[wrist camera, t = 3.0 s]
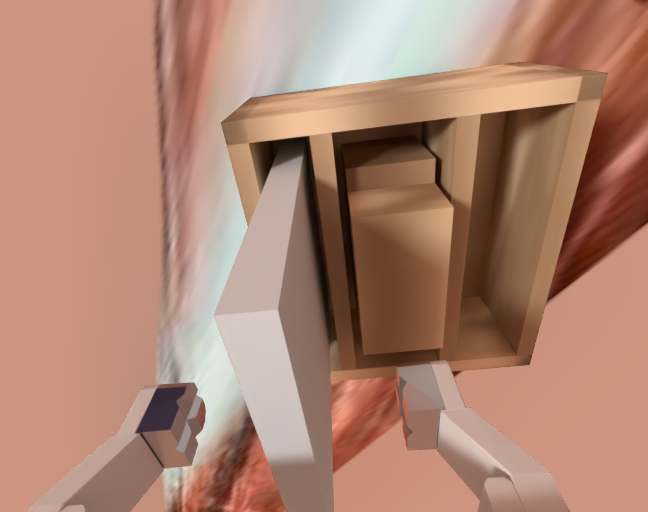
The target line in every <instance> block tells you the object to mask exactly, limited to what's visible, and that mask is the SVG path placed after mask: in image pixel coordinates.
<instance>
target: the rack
mask: <svg viewBox="0 0 648 512" xmlns="http://www.w3.org/2000/svg"><path fill="white" fill-rule="evenodd" d="M607 74H608V73H605V72H597V71H589V70H581V69H573V68H565V67H557V66H549V65H540V64H532V63H524V62H517V63H510V64H502V65H494V66H487V67H479V68H472V69H464V70H457V71H449V72H442V73H434V74H427V75H419V76H412V77H404V78H396V79H389V80H381V81H374V82H366V83H359V84H351V85H344V86H336V87H329V88H321V89H314V90H306V91H298V92H291V93H283V94H276V95H268V96H261V97H253V98H250V99H249V100H247V101H246V102H245V103H244V104H243V105H241V106H240V107H239V108H238V109H237V110H235V111H234V112H233V113H232V114H231V115H230V116H228V117H227V118H226V119H225V120H224V121H222V122H221V125H222V129H223V133H224V137H225V140H226V144H227V148H228V152H229V156H230V160H231V163H232V167H233V171H234V175H235V179H236V183H237V186H238V190H239V194H240V198H241V202H242V206H243V209H244V213H245V217H246V221H247V225H248V226H249V224H250V221H251V219H252V216H253V213H254V211H255V208H256V206H257V203H258V201H259V198H260V195H261V193H262V190H263V188H264V185H265V183H266V180H267V178H268V175H269V172H270V170H271V167H272V165H273V162H274V160H275V157H276V154H277V152H278V149H279V147H280V144H281V142H282V141H284V140H292V139H300V138H306V143H307V150H308V157H309V164H310V171H311V178H312V185H313V192H314V199H315V206H316V213H317V220H318V227H319V234H320V241H321V248H322V255H323V262H324V269H325V276H326V283H327V290H328V297H329V337H330V378H331V381H343V380H355V379H367V378H379V377H391V376H396V364H406V363H417V362H427V361H428V362H430V361H442V360H446V361H447V362H448V363H449V366H450V368H451V371H463V370H474V369H487V368H499V367H511V366H523V365H529V364H530V360H531V357H532V353H533V350H534V346H535V342H536V339H537V335H538V331H539V327H540V324H541V320H542V316H543V313H544V309H545V305H546V301H547V298H548V294H549V290H550V287H551V283H552V279H553V275H554V272H555V268H556V264H557V260H558V257H559V253H560V249H561V246H562V242H563V238H564V234H565V231H566V227H567V223H568V220H569V216H570V212H571V208H572V205H573V201H574V197H575V193H576V190H577V186H578V182H579V179H580V175H581V171H582V167H583V164H584V160H585V156H586V153H587V149H588V145H589V141H590V138H591V134H592V130H593V126H594V123H595V119H596V115H597V112H598V108H599V104H600V100H601V97H602V93H603V89H604V86H605V82H606V78H607ZM408 135H414V136H415V137H416V138H417V139H418V140H419V141H420V142H421V143H422V144H423V145H424V147H425V148H426V149H427V150H428V151H429V152H430V153H431V154H432V155H433V156H434V157H435V158H436V162H435V184H436V185H437V186H438V187H439V189H440V190H441V191H442V193H443V194H444V195H445V196H446V198H447V199H448V200H449V202H450V203H451V204H452V205H453V207H454V211H453V223H452V236H451V249H450V261H449V274H448V287H447V299H446V312H445V325H444V338H443V348H438V349H427V350H415V351H404V352H392V353H381V354H369V355H364V354H363V346H362V339H361V332H360V328H359V320H358V312H357V305H356V297H355V289H354V279H353V268H352V257H351V247H350V236H349V225H348V215H347V204H346V193H345V182H344V172H343V161H342V150H341V144H343V143H351V142H359V141H368V140H376V139H384V138H392V137H400V136H408Z"/></svg>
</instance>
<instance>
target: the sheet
mask: <svg viewBox="0 0 648 512" xmlns="http://www.w3.org/2000/svg"><path fill="white" fill-rule="evenodd" d="M214 318H215V321H216V323H217V326H218V329H219V332H220V334H221V337H222V340H223V342H224V345H225V348H226V350H227V353H228V356H229V358H230V361H231V364H232V366H233V369H234V372H235V374H236V377H237V380H238V383H239V385H240V388H241V391H242V393H243V396H244V399H245V401H246V404H247V407H248V409H249V412H250V415H251V417H252V420H253V423H254V425H255V428H256V431H257V433H258V436H259V439H260V442H261V444H262V447H263V450H264V452H265V455H266V458H267V460H268V463H269V466H270V468H271V471H272V474H273V476H274V479H275V482H276V484H277V487H278V490H279V493H280V495H281V498H282V501H283V503H284V506H285V509H286V511H287V512H334V499H333V458H332V418H331V378H330V337H329V297H328V290H327V283H326V276H325V269H324V262H323V255H322V248H321V241H320V234H319V227H318V220H317V213H316V206H315V199H314V192H313V185H312V178H311V171H310V164H309V157H308V150H307V143H306V138H300V139H292V140H284V141H282V142H281V144H280V147H279V149H278V152H277V154H276V157H275V160H274V162H273V165H272V167H271V170H270V172H269V175H268V178H267V180H266V183H265V185H264V188H263V190H262V193H261V195H260V198H259V201H258V203H257V206H256V208H255V211H254V213H253V216H252V219H251V221H250V224H249V226H248V229H247V231H246V234H245V237H244V239H243V242H242V244H241V247H240V249H239V252H238V255H237V257H236V260H235V262H234V265H233V267H232V270H231V272H230V275H229V278H228V280H227V283H226V285H225V288H224V290H223V293H222V296H221V298H220V301H219V303H218V306H217V308H216V311H215V314H214Z"/></svg>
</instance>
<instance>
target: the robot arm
mask: <svg viewBox="0 0 648 512" xmlns="http://www.w3.org/2000/svg"><path fill="white" fill-rule="evenodd" d="M396 377H397V382H396V394H397V402H398V407H399V413H400V415H401V416H402V417H403V432H404V436H405V441H406V446H407V450H423V449H437V451H438V452H439V453H440V454H441V456H442V457H443V458H444V459H445V460H446V461H447V463H448V464H449V465H450V466H451V467H452V468H453V470H454V471H455V472H456V473H457V474H458V476H459V477H460V478H461V479H462V480H463V481H464V482H465V483H466V485H467V486H468V487H469V488H470V489H471V491H472V492H473V493H474V494H475V495H476V497H477V498H478V499H479V500H480V504H479V508H478V512H570V510H569V509H568V507H567V505H566V503H565V501H564V499H563V497H562V495H561V493H560V491H559V489H558V488H557V486H556V484H555V482H554V480H553V478H552V476H551V474H550V472H548V471H547V470H546V469H545V468H543V467H542V466H541V465H540V464H539V463H537V462H536V461H535V460H534V459H533V458H531V457H530V456H529V455H528V454H527V453H525V452H524V451H523V450H522V449H521V448H519V447H518V446H517V445H516V444H515V443H513V442H512V441H511V440H510V439H508V438H507V437H506V436H505V435H504V434H503V433H501V432H500V431H499V430H497V428H495V427H494V426H493V425H492V424H490V423H489V422H488V421H487V420H486V419H485V418H483V417H482V416H481V415H479V414H478V413H477V412H476V411H475V410H474V409H472V408H466V406H465V404H464V401H463V399H462V396H461V394H460V391H459V389H458V386H457V384H456V381H455V378H454V376H453V373H452V371H451V368H450V366H449V363H448V362H447V361H446V360H442V361H430V362H428V361H427V362H417V363H406V364H396ZM197 391H198V389H197V387H196V385H195V383H177V384H161V385H147V386H144V387H143V388H142V389H141V390H140V392H139V394H138V396H137V398H136V400H135V402H134V404H133V405H132V407H131V409H130V411H129V413H128V415H127V417H126V419H125V421H124V423H123V425H122V427H121V429H120V431H119V432H118V434H117V435H112V436H111V437H110V438H109V439H108V440H107V441H105V443H103V444H102V445H101V446H100V447H99V448H97V449H96V450H95V451H94V452H93V453H91V454H90V455H89V456H88V457H87V458H86V459H85V460H84V461H82V462H81V463H80V464H79V465H78V466H76V467H75V469H73V470H72V471H71V472H70V473H68V474H67V475H66V476H65V477H64V478H63V479H61V481H59V482H58V483H57V484H56V485H54V486H53V487H52V488H51V489H50V490H49V491H48V492H46V493H45V494H44V495H43V496H42V497H41V498H40V499H38V500H37V501H36V502H35V503H34V504H32V505H31V506H30V508H29V509H28V511H27V512H130V511H131V510H132V509H133V508H134V506H135V505H136V504H137V503H138V502H139V500H140V499H141V498H142V497H143V495H144V494H145V493H146V492H147V490H148V489H149V488H150V487H151V485H152V484H153V483H154V482H155V480H156V479H157V478H158V477H159V476H160V474H161V473H162V472H163V471H164V469H163V468H173V467H183V466H191V465H192V462H193V458H194V455H195V452H196V449H197V446H198V442H197V440H196V438H195V437H196V436H197V435H198V434H199V433H200V432H201V431H202V429H203V426H204V422H205V413H206V410H205V404H204V402H203V399H202V398H200V397H199V396H197V395H196V393H197Z"/></svg>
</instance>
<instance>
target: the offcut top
mask: <svg viewBox="0 0 648 512" xmlns="http://www.w3.org/2000/svg"><path fill="white" fill-rule="evenodd" d="M347 193H348V204H349V215H350V226H351V237H352V248H353V259H354V270H355V281H356V292H357V304H358V315H359V323H360V331H361V339H362V346H363V354H364V355H369V354H381V353H392V352H404V351H415V350H427V349H438V348H443V338H444V325H445V312H446V299H447V287H448V274H449V261H450V249H451V236H452V223H453V211H454V207H453V205H452V204H451V203H450V202H449V200H448V199H447V198H446V196H445V195H444V194H443V193H442V191H441V190H440V189H439V187H438V186H437V185H436V184H435V182H434V183H425V184H416V185H407V186H399V187H390V188H381V189H373V190H364V191H355V192H347Z"/></svg>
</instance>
